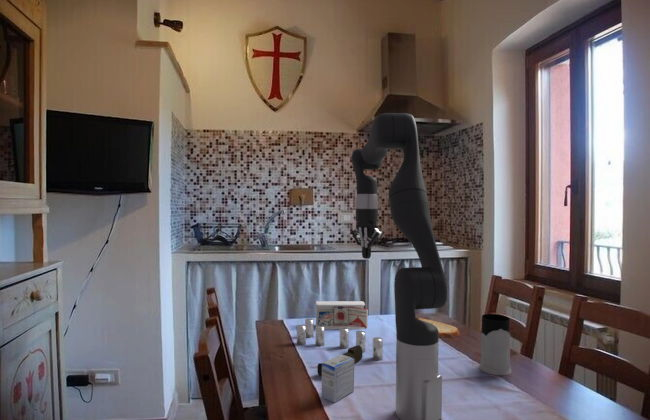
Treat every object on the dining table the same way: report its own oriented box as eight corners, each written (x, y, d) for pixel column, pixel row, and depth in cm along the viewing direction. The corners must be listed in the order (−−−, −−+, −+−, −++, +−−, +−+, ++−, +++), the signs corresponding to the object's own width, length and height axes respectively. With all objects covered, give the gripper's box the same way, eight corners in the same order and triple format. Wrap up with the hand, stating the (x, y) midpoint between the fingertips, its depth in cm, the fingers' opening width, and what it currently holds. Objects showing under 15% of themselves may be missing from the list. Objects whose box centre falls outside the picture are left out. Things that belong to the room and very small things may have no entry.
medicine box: (340, 386, 106) (340, 353, 106) (354, 392, 104) (354, 357, 104) (320, 397, 100) (321, 362, 100) (335, 403, 98) (335, 367, 97)
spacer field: (386, 357, 127) (386, 338, 127) (358, 368, 118) (358, 348, 118) (315, 332, 151) (316, 316, 151) (287, 340, 142) (287, 323, 142)
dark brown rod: (327, 380, 111) (327, 363, 111) (316, 376, 114) (316, 359, 114) (369, 361, 125) (369, 346, 125) (358, 357, 128) (359, 343, 127)
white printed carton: (315, 329, 156) (316, 304, 156) (315, 325, 161) (315, 301, 161) (368, 329, 156) (368, 304, 156) (366, 325, 162) (366, 301, 162)
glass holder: (485, 375, 114) (485, 321, 114) (468, 356, 129) (469, 308, 128) (516, 375, 114) (517, 321, 114) (497, 356, 128) (497, 308, 128)
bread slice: (464, 337, 148) (464, 327, 148) (417, 340, 144) (417, 330, 144) (440, 323, 166) (440, 314, 166) (398, 325, 162) (398, 316, 162)
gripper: (389, 207, 138) (388, 259, 138) (359, 207, 147) (359, 255, 148) (374, 207, 133) (374, 261, 133) (345, 207, 142) (344, 257, 142)
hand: (366, 258), depth 140 cm, fingers closed
